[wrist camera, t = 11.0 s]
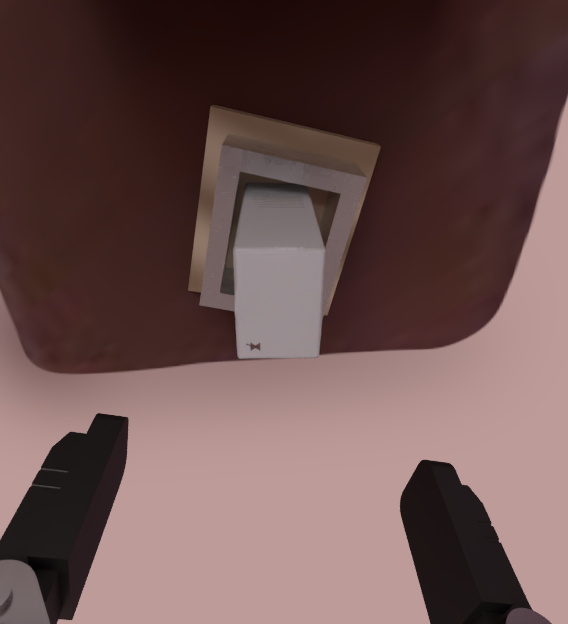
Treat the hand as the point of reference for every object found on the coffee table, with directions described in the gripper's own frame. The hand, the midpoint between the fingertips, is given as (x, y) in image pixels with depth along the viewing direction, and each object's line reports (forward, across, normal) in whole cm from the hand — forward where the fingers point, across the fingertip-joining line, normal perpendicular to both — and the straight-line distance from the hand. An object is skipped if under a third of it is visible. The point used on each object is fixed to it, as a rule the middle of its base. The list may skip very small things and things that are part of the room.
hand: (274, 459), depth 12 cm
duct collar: (+21, 0, +1) cm, 21 cm away
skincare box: (+21, 0, +1) cm, 21 cm away
